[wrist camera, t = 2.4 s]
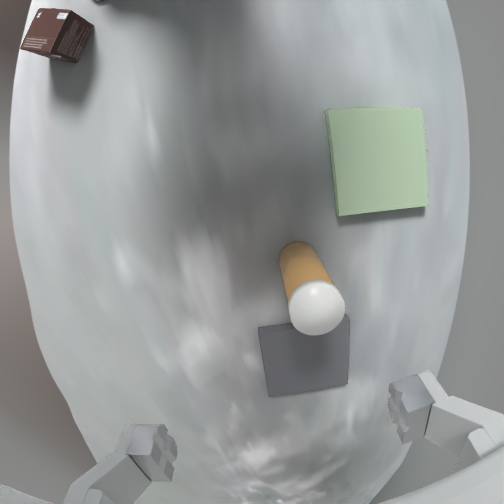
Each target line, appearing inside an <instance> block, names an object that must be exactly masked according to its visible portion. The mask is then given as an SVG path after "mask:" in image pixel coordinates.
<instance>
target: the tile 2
mask: <svg viewBox="0 0 504 504" xmlns="http://www.w3.org/2000/svg"><path fill="white" fill-rule="evenodd" d="M325 116H326V123H327V130H328V138H329V146H330V155H331V164H332V173H333V183H334V194H335V206H336V214H337V215H338V216H345V215H353V214H361V213H370V212H378V211H387V210H396V209H404V208H413V207H422V206H428V170H427V154H426V141H425V130H424V121H423V113H422V108H347V109H328V110H325Z"/></svg>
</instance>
